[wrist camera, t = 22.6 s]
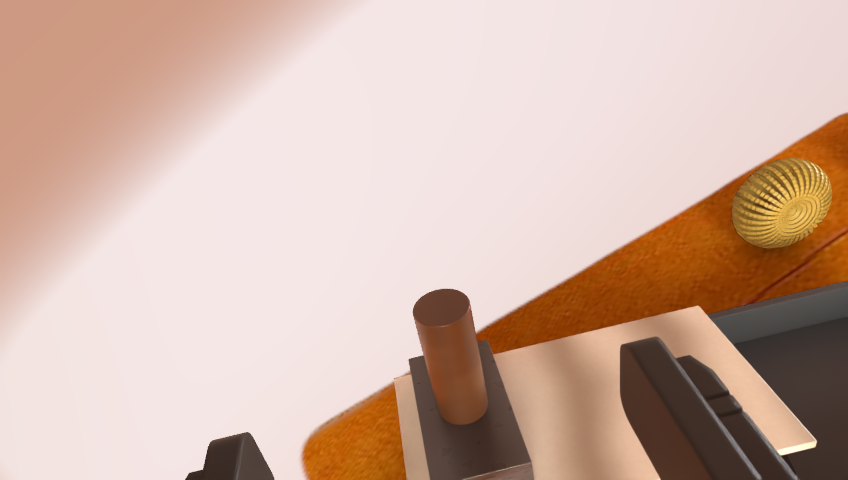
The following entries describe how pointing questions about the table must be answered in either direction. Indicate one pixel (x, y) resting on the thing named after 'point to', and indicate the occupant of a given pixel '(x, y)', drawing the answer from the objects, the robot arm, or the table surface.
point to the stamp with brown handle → (463, 397)
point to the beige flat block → (605, 399)
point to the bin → (802, 367)
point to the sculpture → (781, 203)
